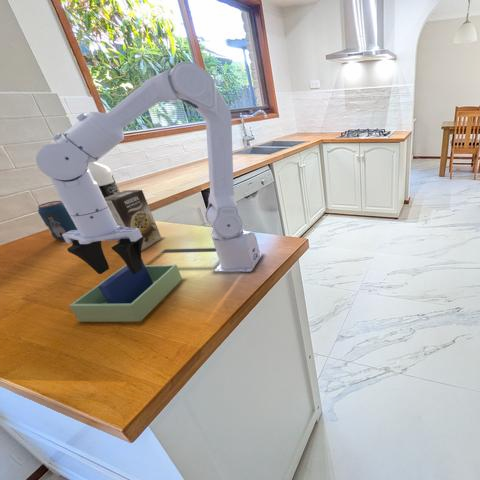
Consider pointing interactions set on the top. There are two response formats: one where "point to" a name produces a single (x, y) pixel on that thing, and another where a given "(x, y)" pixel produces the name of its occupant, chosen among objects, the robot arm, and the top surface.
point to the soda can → (56, 219)
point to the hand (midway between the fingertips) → (120, 271)
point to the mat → (189, 250)
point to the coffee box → (134, 214)
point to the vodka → (103, 179)
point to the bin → (99, 310)
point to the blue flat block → (125, 285)
